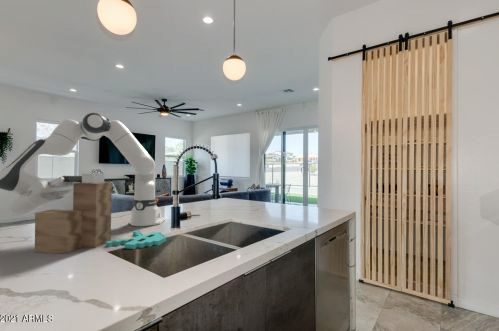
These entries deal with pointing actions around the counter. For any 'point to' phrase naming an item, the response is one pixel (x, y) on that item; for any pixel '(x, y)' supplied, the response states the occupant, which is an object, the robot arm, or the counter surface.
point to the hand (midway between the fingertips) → (70, 178)
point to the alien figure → (140, 240)
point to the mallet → (86, 178)
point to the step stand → (76, 221)
